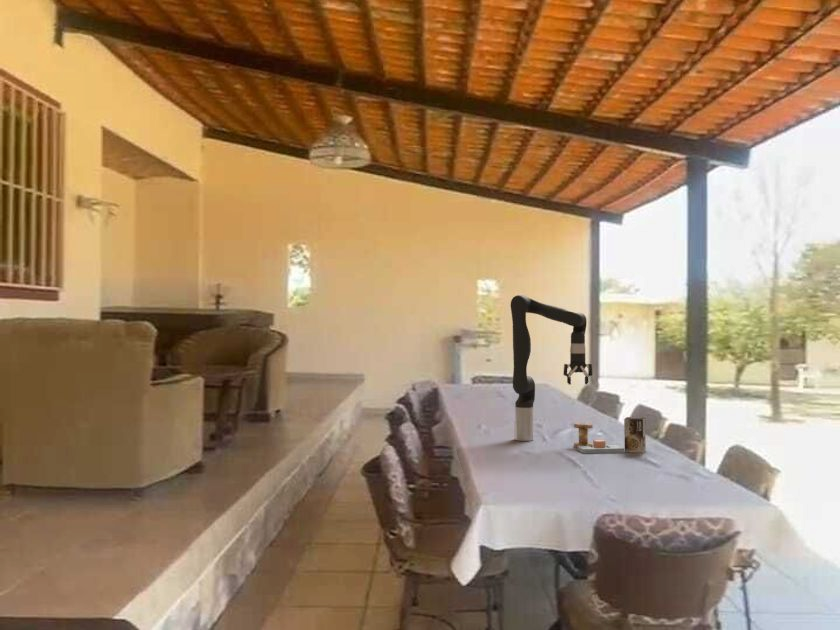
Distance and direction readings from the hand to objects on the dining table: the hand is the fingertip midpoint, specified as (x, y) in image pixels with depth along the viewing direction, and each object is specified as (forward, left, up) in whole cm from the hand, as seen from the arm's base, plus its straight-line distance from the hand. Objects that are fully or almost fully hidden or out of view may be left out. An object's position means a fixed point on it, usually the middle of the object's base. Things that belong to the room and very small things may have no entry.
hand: (577, 384), depth 441 cm
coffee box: (+20, -27, -30) cm, 45 cm away
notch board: (+4, -24, -30) cm, 39 cm away
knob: (0, -9, -30) cm, 31 cm away
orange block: (+4, -23, -30) cm, 38 cm away
